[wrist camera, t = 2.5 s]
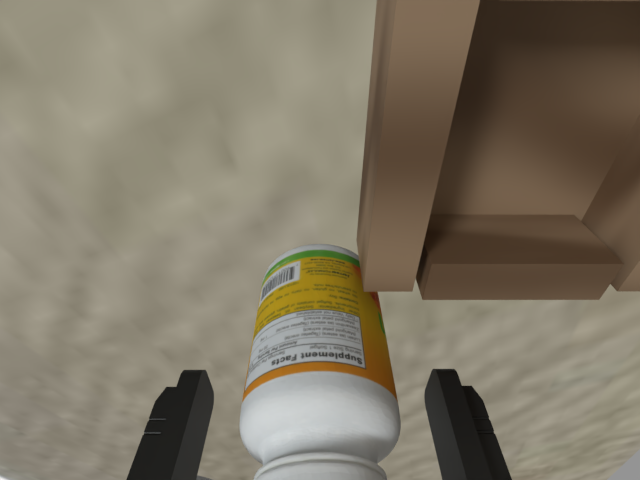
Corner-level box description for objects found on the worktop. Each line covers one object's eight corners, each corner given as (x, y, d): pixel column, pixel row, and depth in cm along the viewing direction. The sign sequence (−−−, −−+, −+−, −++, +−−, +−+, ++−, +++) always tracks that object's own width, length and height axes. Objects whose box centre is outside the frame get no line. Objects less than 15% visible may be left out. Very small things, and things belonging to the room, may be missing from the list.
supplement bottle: (364, 322, 19) (395, 564, 11) (263, 316, 19) (225, 561, 11) (385, 244, 16) (449, 508, 8) (263, 234, 16) (210, 502, 8)
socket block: (600, 242, 16) (658, 299, 13) (354, 242, 16) (362, 300, 13) (806, -91, 9) (1009, -114, 6) (382, -95, 9) (409, -118, 6)
